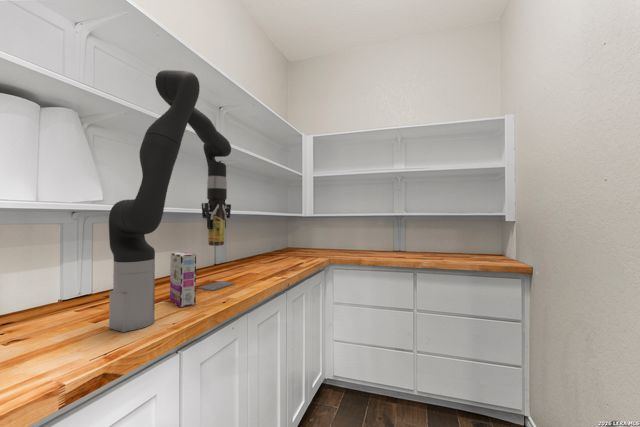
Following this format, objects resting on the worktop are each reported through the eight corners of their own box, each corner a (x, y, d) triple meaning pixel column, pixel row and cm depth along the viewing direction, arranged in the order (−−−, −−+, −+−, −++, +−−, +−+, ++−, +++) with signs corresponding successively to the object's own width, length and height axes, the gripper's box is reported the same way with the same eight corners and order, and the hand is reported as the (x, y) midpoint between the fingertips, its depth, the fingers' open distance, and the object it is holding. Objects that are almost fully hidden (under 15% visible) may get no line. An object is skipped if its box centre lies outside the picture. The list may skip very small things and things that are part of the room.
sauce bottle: (204, 245, 115) (205, 196, 115) (214, 244, 121) (215, 197, 121) (218, 246, 113) (218, 196, 113) (228, 244, 119) (228, 197, 119)
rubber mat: (212, 291, 110) (212, 289, 110) (197, 288, 113) (197, 287, 113) (234, 284, 121) (234, 283, 121) (220, 282, 124) (220, 281, 124)
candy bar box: (196, 304, 93) (197, 254, 93) (180, 308, 90) (180, 255, 90) (184, 297, 101) (185, 251, 101) (169, 300, 98) (169, 252, 98)
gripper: (210, 186, 109) (210, 230, 109) (236, 189, 122) (236, 228, 122) (196, 186, 112) (195, 229, 112) (223, 189, 125) (222, 228, 125)
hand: (216, 228), depth 117 cm, fingers closed on sauce bottle, 6 cm apart
